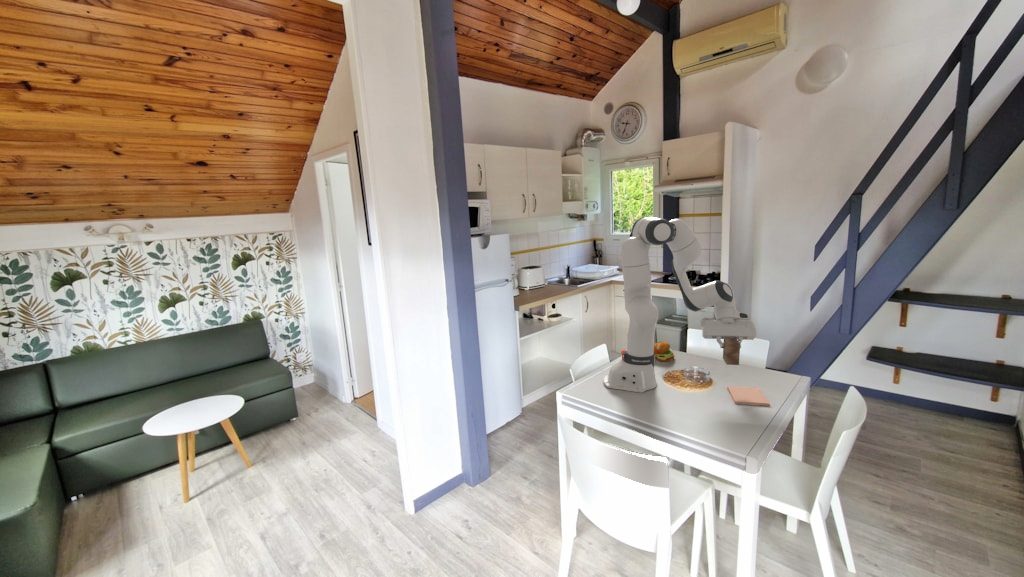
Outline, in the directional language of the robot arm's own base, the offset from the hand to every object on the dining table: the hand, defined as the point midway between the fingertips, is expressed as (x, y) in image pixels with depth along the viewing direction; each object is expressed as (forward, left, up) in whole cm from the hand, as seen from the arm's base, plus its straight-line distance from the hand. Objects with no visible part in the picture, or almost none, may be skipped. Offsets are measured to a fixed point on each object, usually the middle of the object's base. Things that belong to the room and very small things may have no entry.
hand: (730, 347), depth 177 cm
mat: (+6, -7, -18) cm, 20 cm away
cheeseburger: (-24, +30, -18) cm, 42 cm away
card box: (0, -1, -5) cm, 6 cm away
